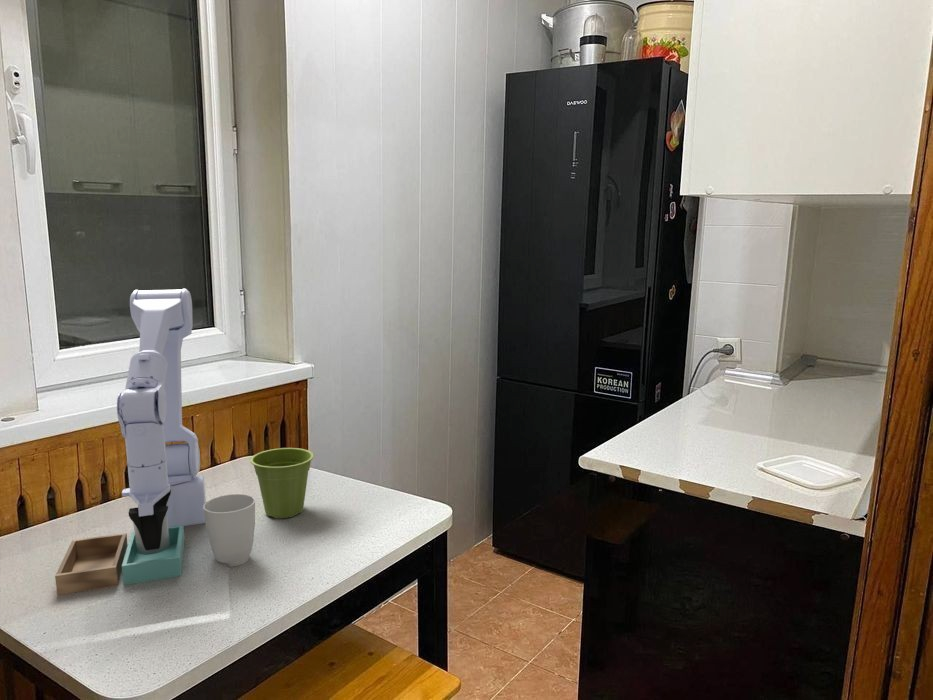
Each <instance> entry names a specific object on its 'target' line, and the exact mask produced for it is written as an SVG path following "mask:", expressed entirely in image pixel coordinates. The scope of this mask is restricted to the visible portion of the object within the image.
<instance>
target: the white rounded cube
mask: <svg viewBox="0 0 933 700" xmlns="http://www.w3.org/2000/svg"><path fill="white" fill-rule="evenodd" d="M132 523H133V532H135V540H136V547H137V552H138V553H139V554H143V555H149V554H155V553H159V552H162V551H164V550H166V549H167V548H168V547H169V546H170V538H169V530H168V522H167V515H165V517H164V520H163V525H162V536H161V544H160V548H159V549H153V550H145V548H144V545H143V543H142V540H141V536H140V534H139V531H138V529H137V527H136V525H135V524H134V522H133V521H132Z"/></svg>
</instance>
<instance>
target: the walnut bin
mask: <svg viewBox="0 0 933 700" xmlns="http://www.w3.org/2000/svg"><path fill="white" fill-rule="evenodd" d="M127 534H128V533H127V532H124V533H123V532H122V533H115V534H108V535H100V536H93V537H92V536H91V537H86V538H78V539H72V540H71V543H70V545H69V546H68V549H67V550H66V553H65V554H64V557H63V559H62V561H61V562H60V565H59V567H58V569H57V571H56V574H55V576H54V578H55V587H56V595H57V596H61V595H66V594H67V595H68V594H74V593H79V592H87V591H93V590H98V589H106V588H112V587H117V586H119V582H120V579H121V576H122V564H123V560H124V557H125V553H126V550H127V546H128V543H129V542H128V535H127Z"/></svg>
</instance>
